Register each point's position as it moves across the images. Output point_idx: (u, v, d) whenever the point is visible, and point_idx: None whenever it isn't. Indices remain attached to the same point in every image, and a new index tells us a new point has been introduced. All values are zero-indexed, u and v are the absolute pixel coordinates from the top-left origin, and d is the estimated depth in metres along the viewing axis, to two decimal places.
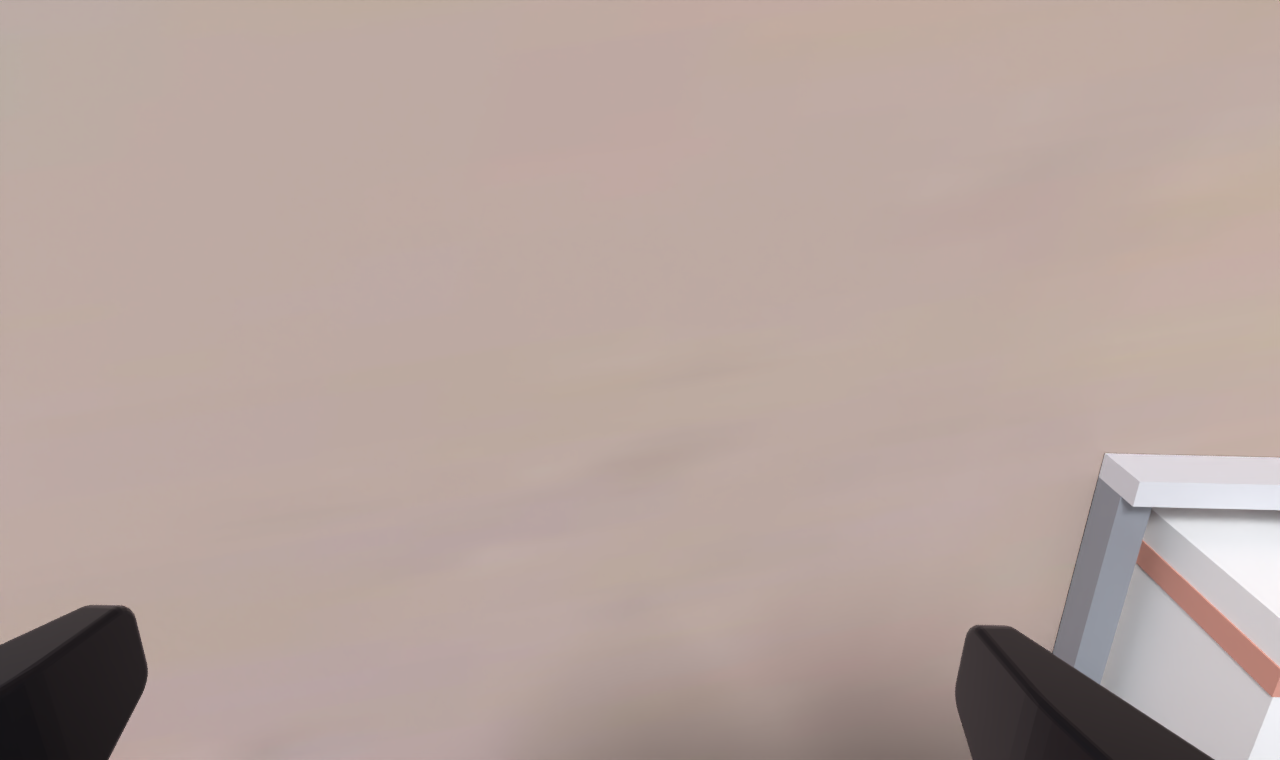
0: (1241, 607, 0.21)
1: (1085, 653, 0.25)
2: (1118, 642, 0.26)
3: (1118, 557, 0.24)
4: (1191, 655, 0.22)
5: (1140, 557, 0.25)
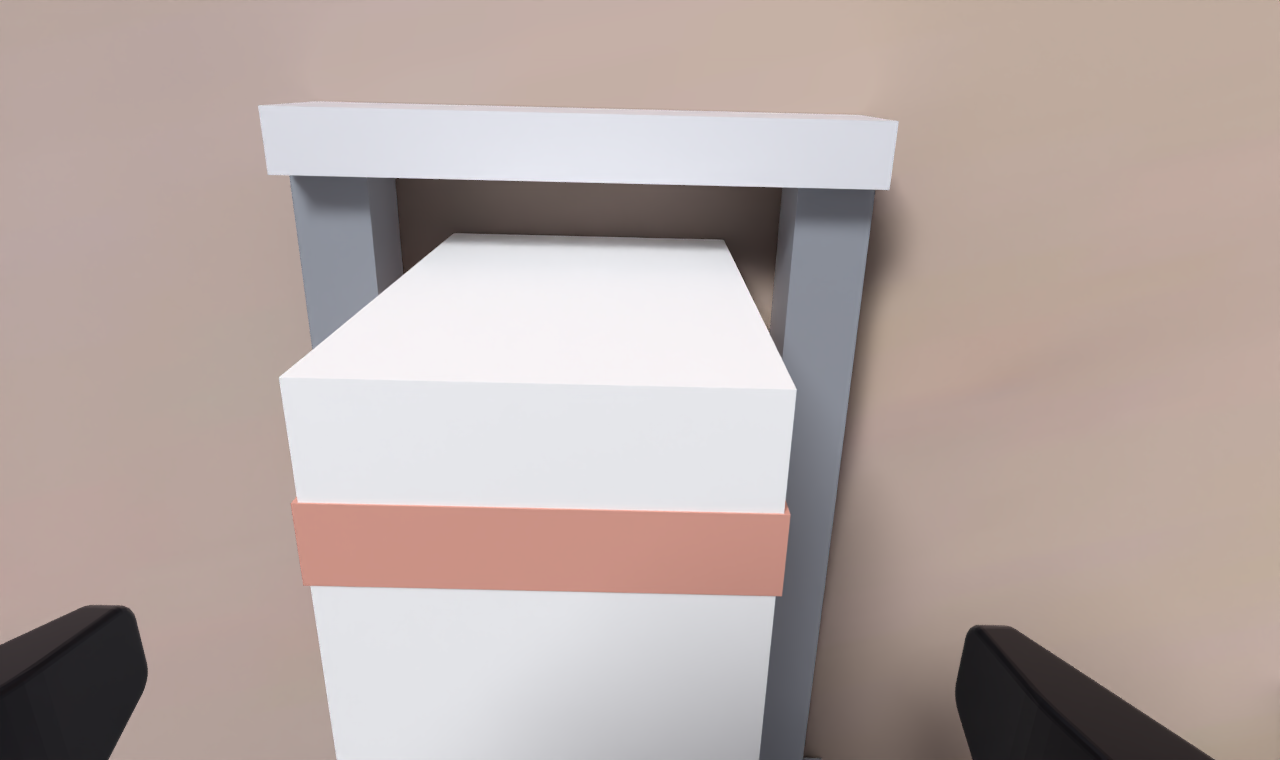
0: None
1: None
2: None
3: (340, 324, 0.11)
4: None
5: None
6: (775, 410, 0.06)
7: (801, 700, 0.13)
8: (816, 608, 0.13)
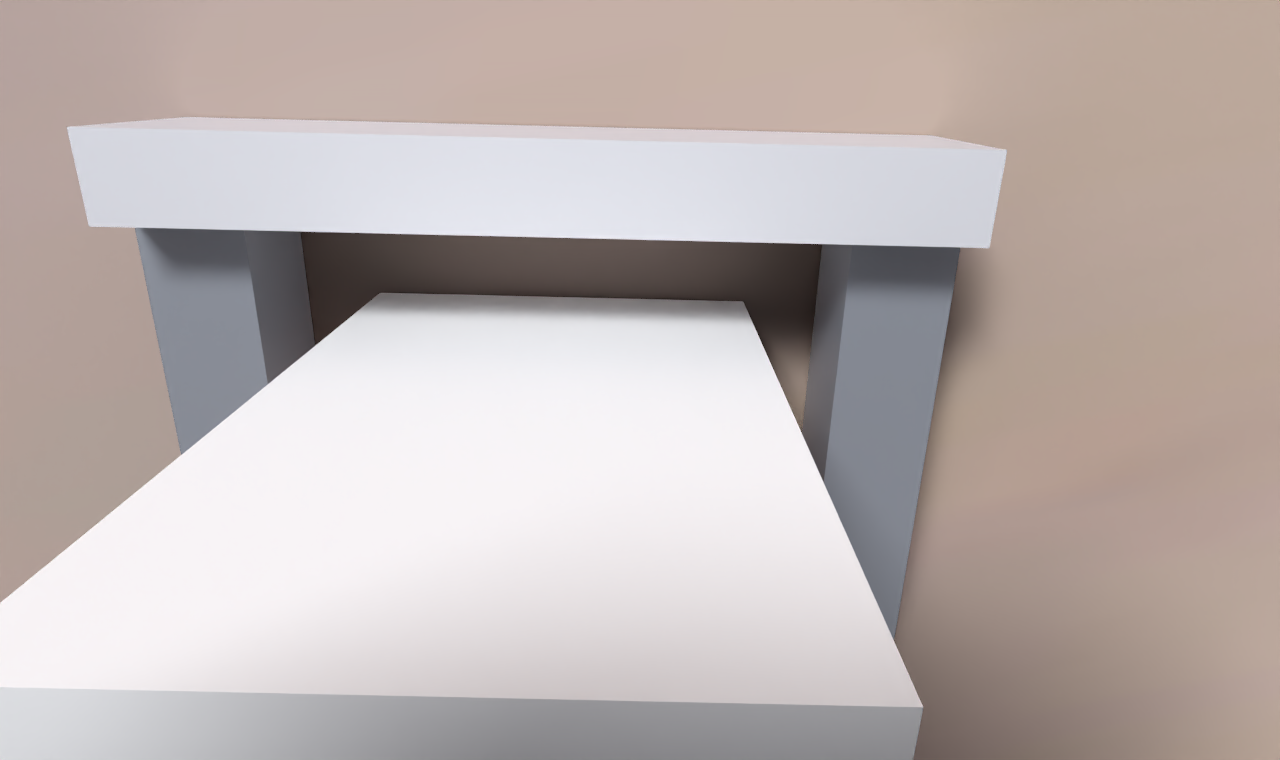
0: None
1: None
2: None
3: (218, 423, 0.08)
4: None
5: None
6: (878, 741, 0.03)
7: None
8: None
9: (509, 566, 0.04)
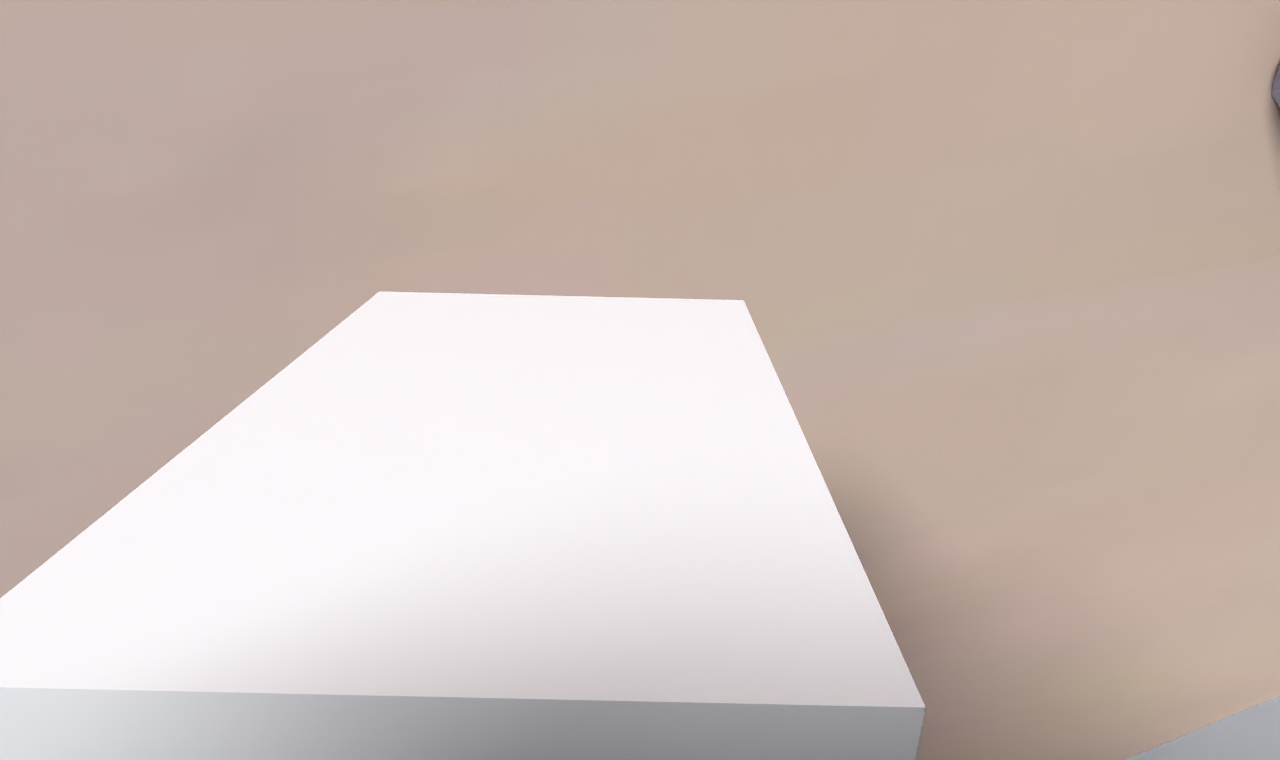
0: None
1: None
2: None
3: None
4: None
5: None
6: (880, 742, 0.03)
7: None
8: None
9: (508, 565, 0.04)
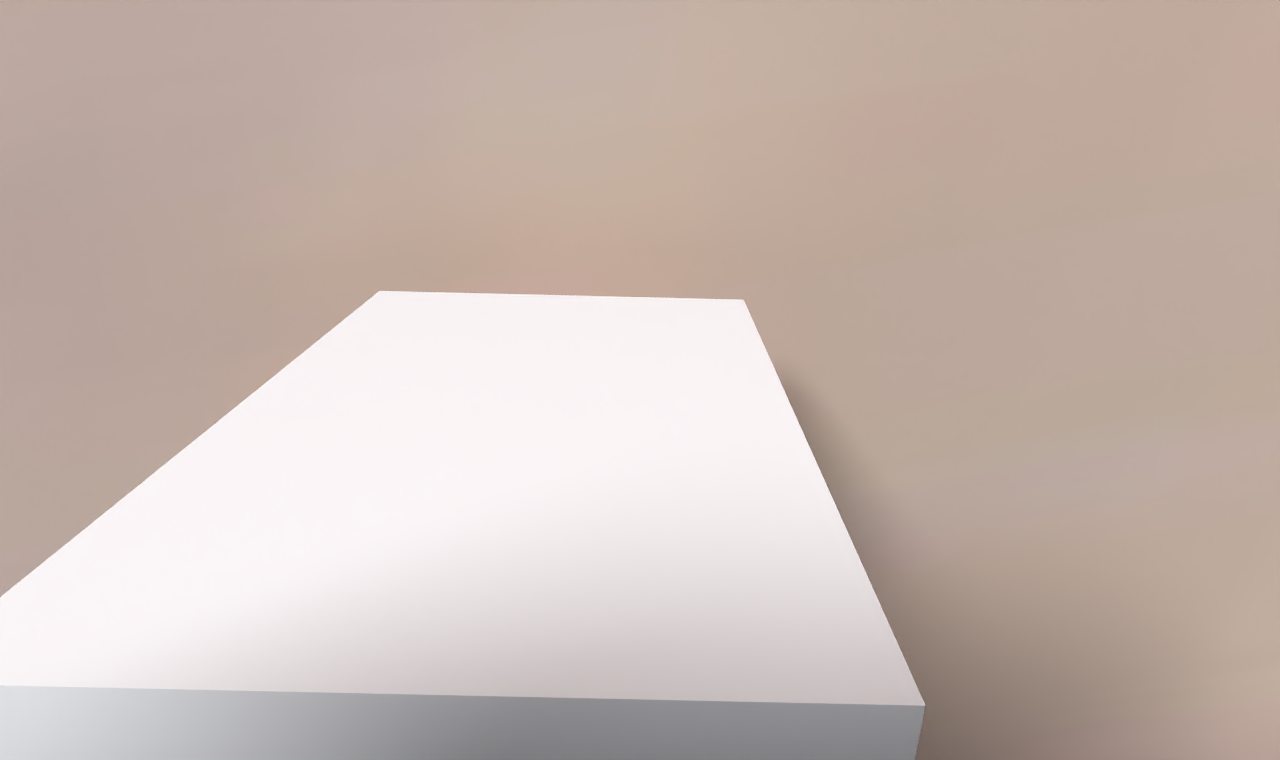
0: None
1: None
2: None
3: None
4: None
5: None
6: (880, 740, 0.03)
7: None
8: None
9: (508, 564, 0.04)
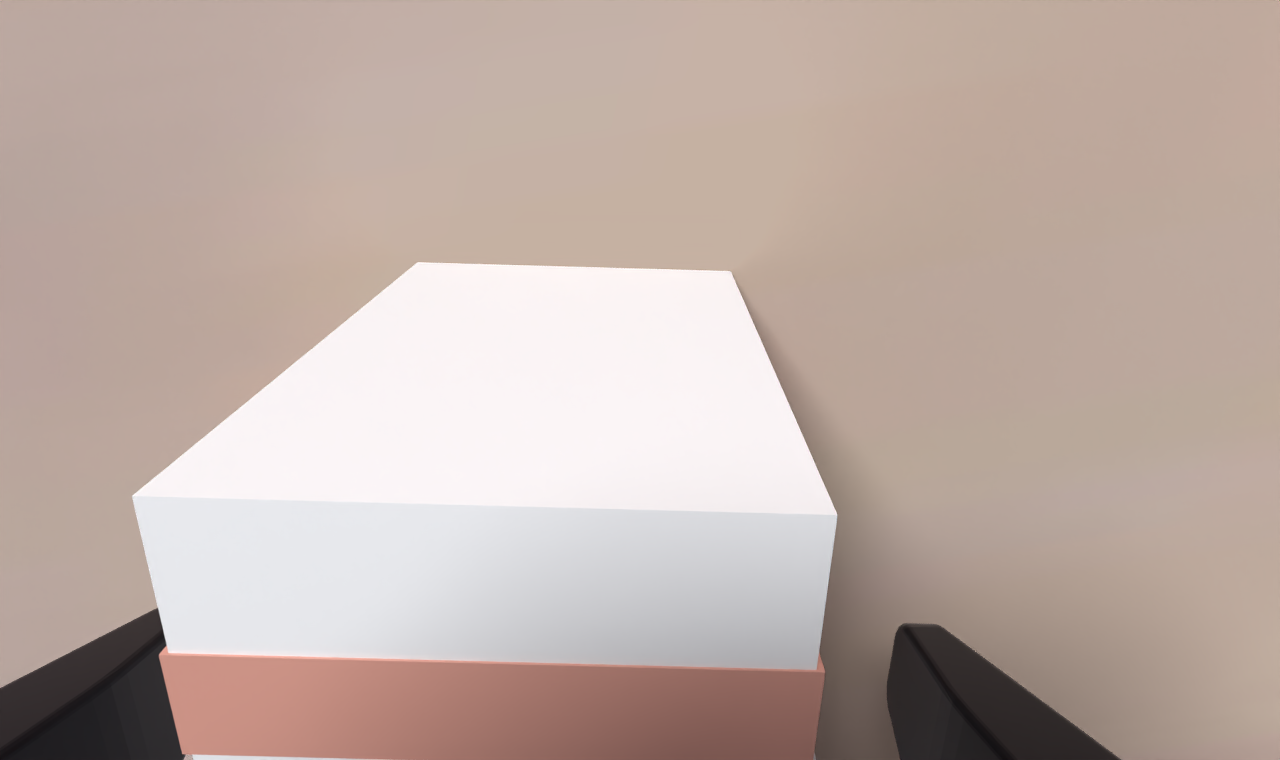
0: None
1: None
2: None
3: None
4: None
5: None
6: (807, 541, 0.05)
7: None
8: None
9: (545, 439, 0.05)
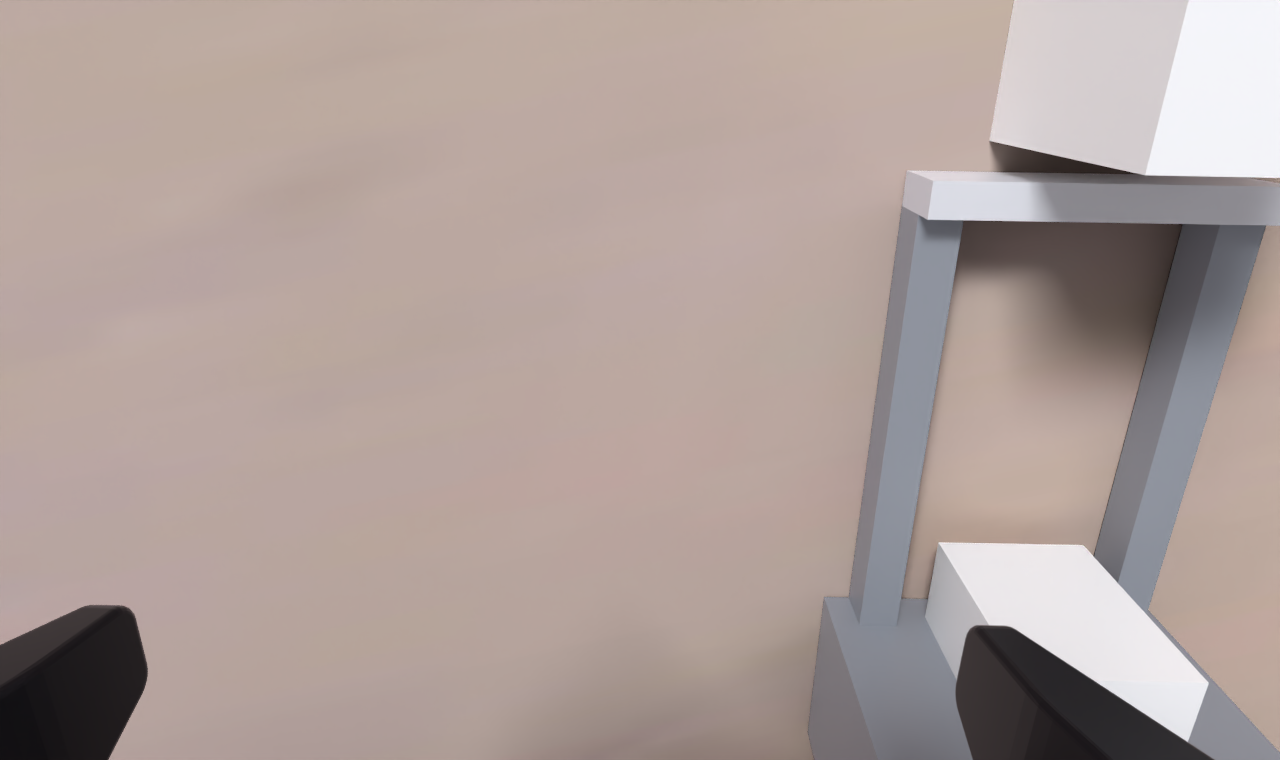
0: None
1: (895, 448, 0.19)
2: (1016, 35, 0.17)
3: (924, 306, 0.18)
4: None
5: None
6: None
7: (1160, 551, 0.20)
8: (1181, 488, 0.20)
9: None
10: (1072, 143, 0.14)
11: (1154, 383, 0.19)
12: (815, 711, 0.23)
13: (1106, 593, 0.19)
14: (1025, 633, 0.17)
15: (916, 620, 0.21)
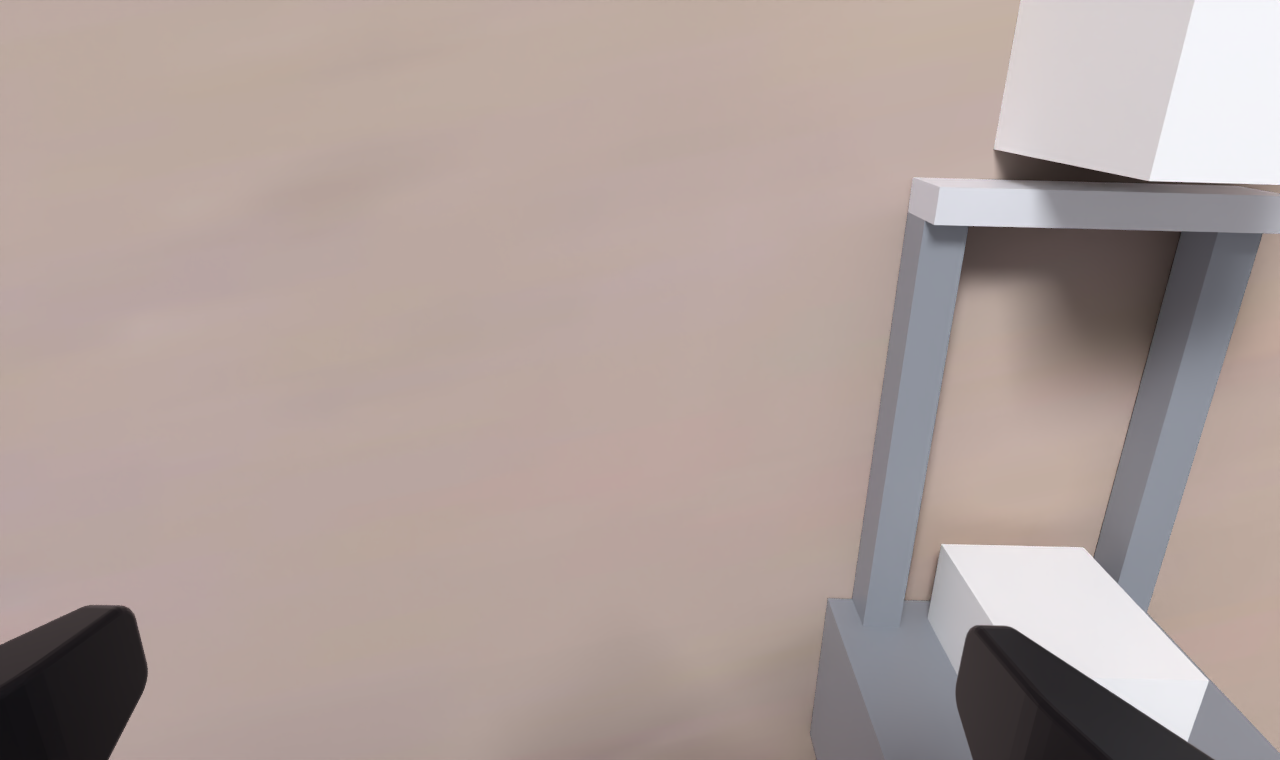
0: None
1: (900, 450, 0.20)
2: (1020, 46, 0.17)
3: (929, 310, 0.18)
4: None
5: None
6: None
7: (1159, 553, 0.21)
8: (1179, 491, 0.20)
9: None
10: (1076, 151, 0.15)
11: (1153, 387, 0.20)
12: (818, 712, 0.23)
13: (1107, 594, 0.19)
14: (1028, 632, 0.18)
15: (919, 621, 0.22)
